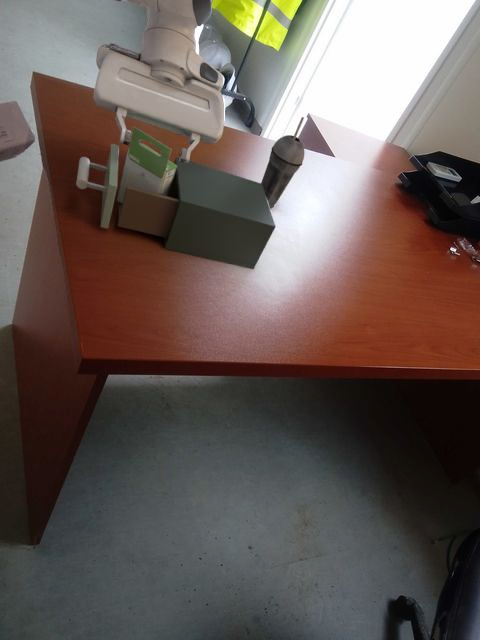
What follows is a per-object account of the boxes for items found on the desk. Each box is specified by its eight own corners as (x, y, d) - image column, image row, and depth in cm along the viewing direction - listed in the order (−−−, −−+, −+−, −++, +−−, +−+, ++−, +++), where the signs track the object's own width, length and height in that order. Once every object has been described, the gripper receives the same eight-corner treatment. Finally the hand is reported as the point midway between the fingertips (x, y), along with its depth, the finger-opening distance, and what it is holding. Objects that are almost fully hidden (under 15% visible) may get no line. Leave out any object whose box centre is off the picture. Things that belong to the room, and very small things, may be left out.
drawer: (70, 220, 71) (77, 175, 66) (76, 177, 79) (83, 134, 74) (193, 248, 80) (208, 211, 74) (188, 207, 87) (201, 171, 82)
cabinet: (164, 249, 78) (181, 200, 71) (161, 203, 86) (175, 156, 80) (253, 269, 85) (275, 226, 78) (242, 225, 93) (261, 183, 87)
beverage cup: (284, 207, 106) (327, 125, 93) (269, 214, 101) (311, 128, 88) (261, 189, 107) (300, 105, 94) (244, 195, 102) (282, 107, 89)
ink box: (162, 215, 80) (184, 144, 71) (150, 223, 77) (171, 150, 68) (129, 193, 80) (147, 120, 71) (115, 200, 77) (132, 125, 68)
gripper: (101, 26, 65) (86, 123, 65) (233, 80, 74) (220, 166, 74) (97, 48, 71) (84, 138, 71) (221, 96, 79) (208, 176, 80)
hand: (154, 152), depth 73 cm, fingers open, 8 cm apart
